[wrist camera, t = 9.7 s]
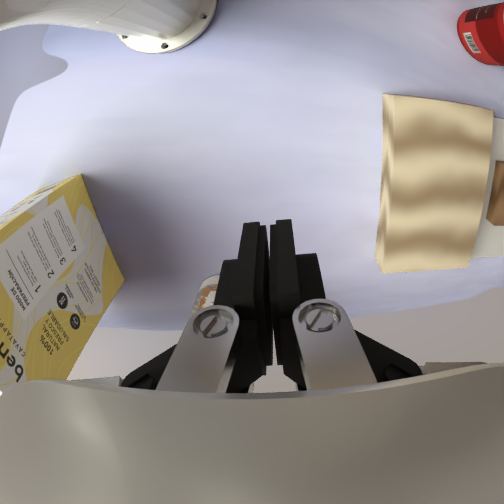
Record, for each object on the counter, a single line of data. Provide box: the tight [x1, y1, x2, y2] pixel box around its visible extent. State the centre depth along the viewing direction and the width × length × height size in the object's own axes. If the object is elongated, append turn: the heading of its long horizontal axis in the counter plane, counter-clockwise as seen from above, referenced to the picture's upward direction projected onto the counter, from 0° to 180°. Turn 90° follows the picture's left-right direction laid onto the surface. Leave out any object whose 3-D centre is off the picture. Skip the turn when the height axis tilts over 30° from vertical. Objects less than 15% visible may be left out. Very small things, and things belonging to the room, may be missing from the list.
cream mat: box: [471, 117, 504, 259], centre depth 33 cm, size 22×13×1 cm, turn 6°
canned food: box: [457, 2, 504, 66], centre depth 18 cm, size 8×8×11 cm
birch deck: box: [375, 94, 493, 273], centre depth 33 cm, size 22×14×4 cm, turn 6°
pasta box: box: [0, 174, 125, 395], centre depth 31 cm, size 18×10×28 cm, turn 12°
